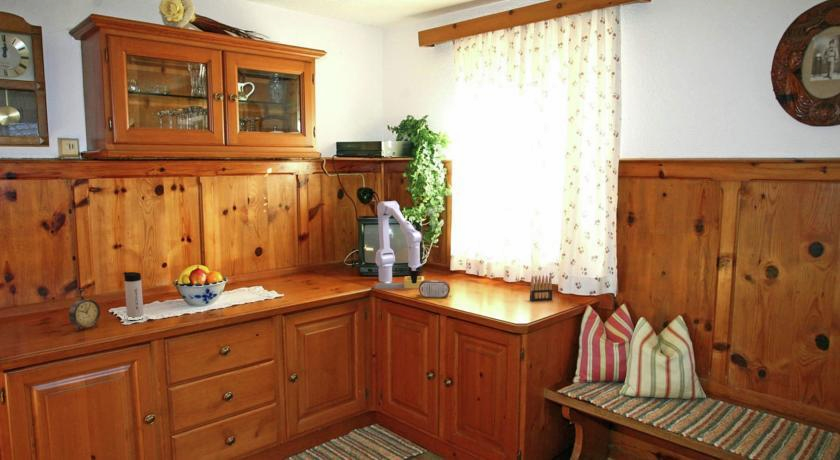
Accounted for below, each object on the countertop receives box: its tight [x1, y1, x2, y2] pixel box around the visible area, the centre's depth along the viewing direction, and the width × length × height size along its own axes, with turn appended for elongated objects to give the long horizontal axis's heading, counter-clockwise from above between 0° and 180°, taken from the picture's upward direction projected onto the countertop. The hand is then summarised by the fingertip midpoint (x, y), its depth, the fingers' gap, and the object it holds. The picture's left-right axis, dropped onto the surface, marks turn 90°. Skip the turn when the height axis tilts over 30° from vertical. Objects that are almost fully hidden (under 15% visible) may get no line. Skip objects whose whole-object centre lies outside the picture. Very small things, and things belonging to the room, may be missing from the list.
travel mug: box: [122, 271, 144, 318], centre depth 245 cm, size 6×7×20 cm
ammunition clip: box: [529, 274, 553, 302], centre depth 275 cm, size 11×2×12 cm, turn 101°
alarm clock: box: [68, 288, 101, 332], centre depth 232 cm, size 11×5×16 cm, turn 155°
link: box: [403, 276, 425, 288], centre depth 302 cm, size 10×10×4 cm
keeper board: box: [374, 282, 419, 290], centre depth 303 cm, size 13×26×1 cm, turn 89°
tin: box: [418, 279, 451, 299], centre depth 282 cm, size 15×3×8 cm, turn 84°
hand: (414, 282), depth 298 cm, fingers open, 5 cm apart
